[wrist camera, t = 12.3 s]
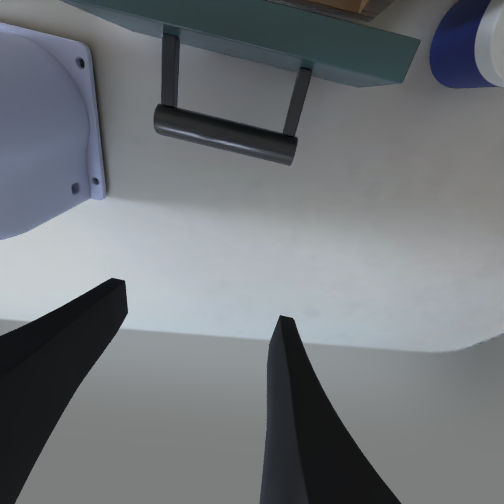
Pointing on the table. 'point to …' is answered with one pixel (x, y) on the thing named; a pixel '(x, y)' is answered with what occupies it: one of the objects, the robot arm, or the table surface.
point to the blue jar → (470, 45)
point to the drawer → (262, 56)
